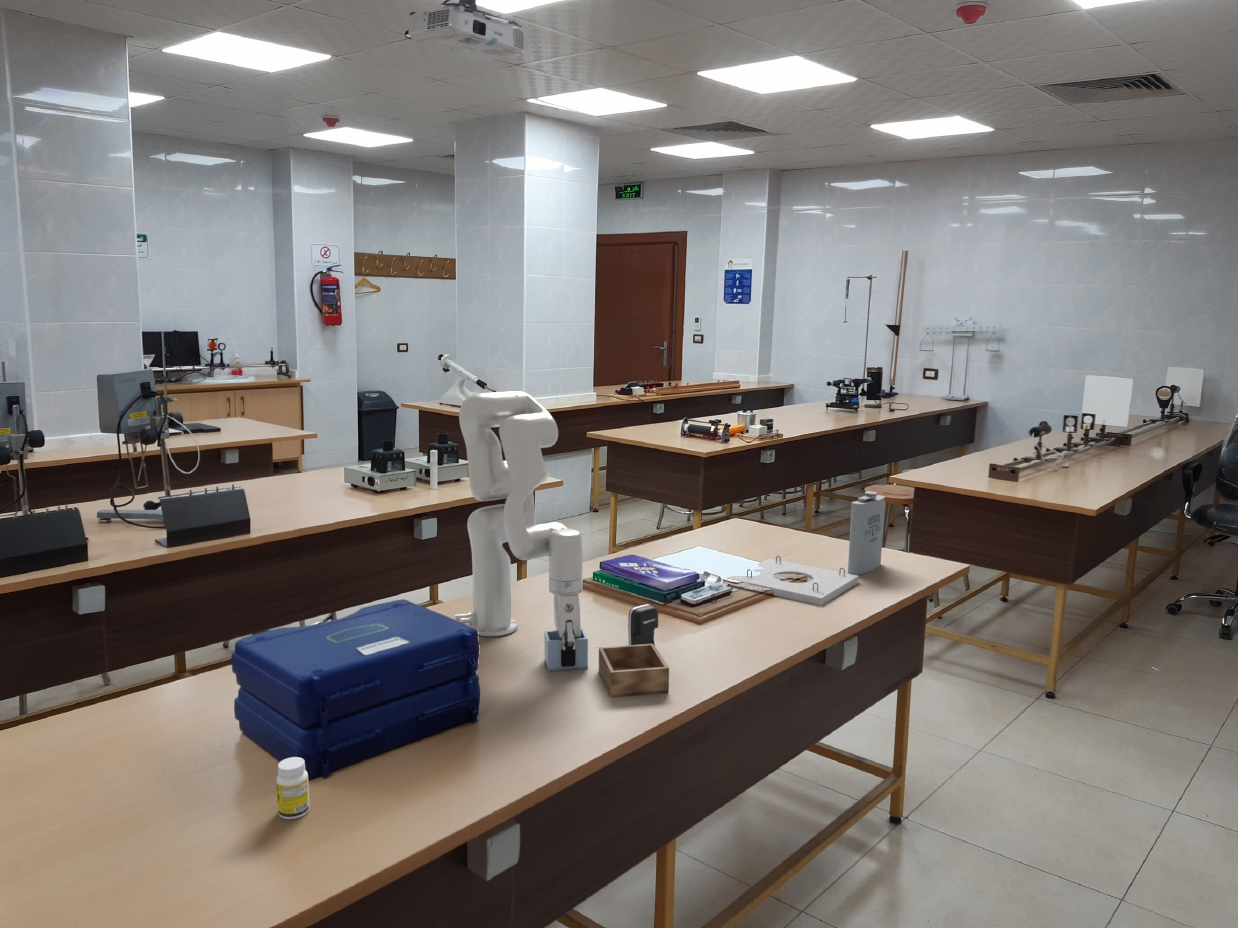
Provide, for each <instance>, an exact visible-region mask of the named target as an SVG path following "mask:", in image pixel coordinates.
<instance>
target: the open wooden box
mask: <svg viewBox="0 0 1238 928" xmlns="http://www.w3.org/2000/svg"><path fill="white" fill-rule="evenodd" d="M654 644H655V643H654ZM654 644H641V645H629V644H628V645H626V644H625V645H615V646H614V645H612V646H601V647H598V672H599V674H600V677H601V680H602V681H603V683H604V686H605V688H606V690H607V692H608V694H609V697H610V698H617V697H618V698H619V697H629V696H630V697H631V696H643V695H655V694H656V695H657V694H666V693H667V694H668V693H669V691H670V689H669V688H670V686H669V685H670V667H669V666H668V664H667V663H666V660H665V659H664V658H663V656H662V655H661V653H660V651H659V650H658V649H657V647H656V645H655V646H654Z"/></svg>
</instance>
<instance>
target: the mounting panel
mask: <svg viewBox="0 0 1238 928" xmlns="http://www.w3.org/2000/svg"><path fill="white" fill-rule="evenodd" d="M775 557H776V558H775V559H774V558H773V559H772V558H767V559H766V560H763V561H761V562H759V563H757V564H758V565H759V566H758V567H762V569H754V570H755V572H760V575H759V574H758V575H757V576H752V571H751V570H750V569H748V568H747V569H748V570H747V576H733V575H730V576H729V577H726V580H727V579H732V580H737V581H741V582H745V583H748V584H750V585H754V586H760V587H764V588H769V589H772V590H774V595H773V596H776V597H779V598H784V599H789V600H793V601H794V600H795V601H798V602H801V603H802V602H803V603H808V604H812V605H816V606H823V605H825V604H826V603H829V601H831V600H833V599H834V598H836V597H837V596H839V595H840V594H843V593H844V592H845V591H847V590H849V589H851V588H852V587H854V586H855V585H857V584H859V578H860V576H859V575H854V574H850V573H845V572H846V570H845V568H844V567H841V568H840V569H839V571H835V570H830V569H825V568H819V567H814V566H809V565H803V564H797V563H794V562H788V561H784V560H782V558H781V556H780V555H776V556H775ZM778 558H779V560H778ZM763 568H764V569H763ZM749 570H750V571H751V576H748V571H749ZM754 570H753V571H754ZM841 570H843V572H842V571H841ZM776 574H796V575H805V576H806V577H808V578H807V579H808V580H807V582H804V581H803V582H790V581H783V580H778V579H776V578H774V575H776Z"/></svg>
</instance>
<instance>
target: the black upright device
mask: <svg viewBox="0 0 1238 928" xmlns="http://www.w3.org/2000/svg"><path fill="white" fill-rule="evenodd" d="M658 611H659V610H658V609H657V608H656V607H655V606H652V605H650V604H648V603H647V604H642V605H637V606H634V607H631V609H630V610H629V612H628V622H627V623H628V624H627V627H628V628H627V629H628V630H627V631H628V645H641V644H654V646H655V647H656V644H655V629H658V628H659V612H658Z"/></svg>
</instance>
